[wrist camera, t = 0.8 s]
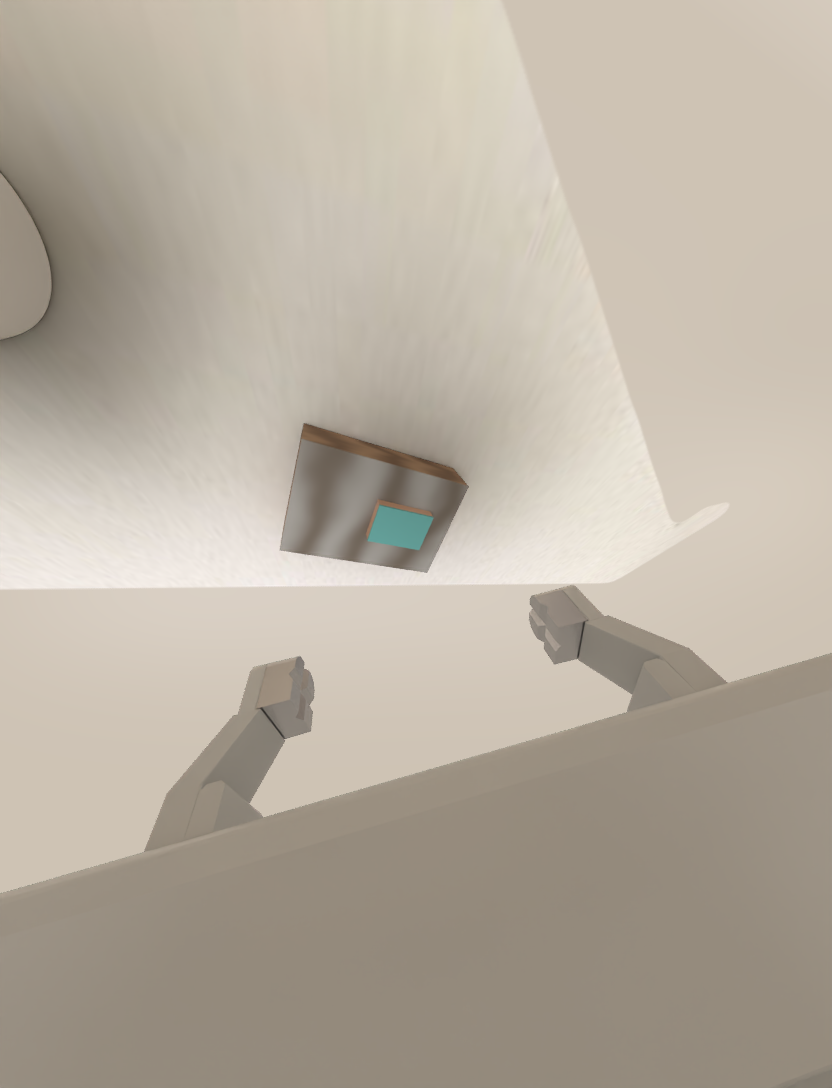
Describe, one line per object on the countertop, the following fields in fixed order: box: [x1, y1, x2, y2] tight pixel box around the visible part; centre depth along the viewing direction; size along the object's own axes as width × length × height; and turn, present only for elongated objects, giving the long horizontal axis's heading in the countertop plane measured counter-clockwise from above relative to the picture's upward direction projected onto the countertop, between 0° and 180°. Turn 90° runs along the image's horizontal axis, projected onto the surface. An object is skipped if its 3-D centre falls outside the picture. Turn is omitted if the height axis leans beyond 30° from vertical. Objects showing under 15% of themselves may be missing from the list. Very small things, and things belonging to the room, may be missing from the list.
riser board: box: [280, 423, 469, 573], centre depth 42 cm, size 20×14×6 cm
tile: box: [366, 499, 433, 550], centre depth 41 cm, size 7×5×2 cm
